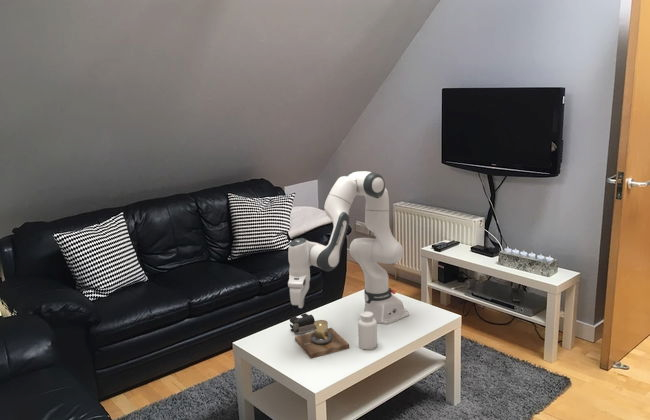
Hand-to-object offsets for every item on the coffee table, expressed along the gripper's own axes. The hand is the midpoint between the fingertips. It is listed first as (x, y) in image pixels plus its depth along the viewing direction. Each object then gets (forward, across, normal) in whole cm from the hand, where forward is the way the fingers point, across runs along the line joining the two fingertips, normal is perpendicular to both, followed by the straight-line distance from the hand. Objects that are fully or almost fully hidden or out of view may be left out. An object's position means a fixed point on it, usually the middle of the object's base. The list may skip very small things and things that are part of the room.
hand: (301, 306), depth 244 cm
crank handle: (+13, +2, +4) cm, 14 cm away
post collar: (+16, 0, +8) cm, 18 cm away
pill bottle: (+18, -1, +28) cm, 34 cm away
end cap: (+18, -13, -3) cm, 22 cm away
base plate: (+18, 0, +8) cm, 19 cm away
